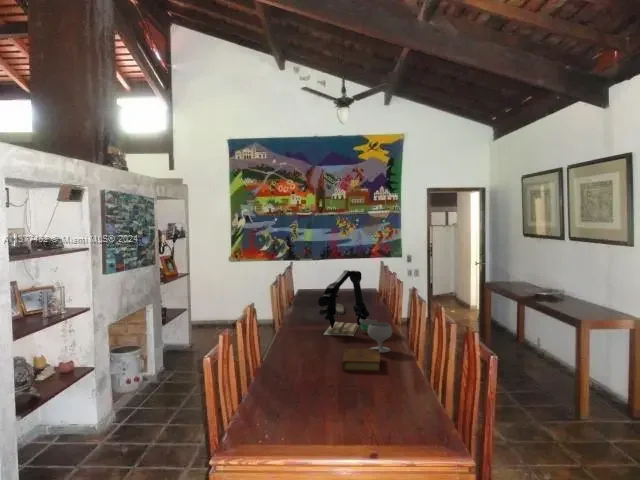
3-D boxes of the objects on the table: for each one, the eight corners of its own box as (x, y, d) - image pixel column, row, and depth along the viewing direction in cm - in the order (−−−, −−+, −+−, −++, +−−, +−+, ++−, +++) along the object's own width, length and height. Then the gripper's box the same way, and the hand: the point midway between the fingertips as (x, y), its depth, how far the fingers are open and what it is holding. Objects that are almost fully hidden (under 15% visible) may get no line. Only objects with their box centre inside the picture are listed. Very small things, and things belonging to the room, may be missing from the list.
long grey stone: (333, 316, 377) (345, 317, 378) (333, 310, 377) (346, 310, 377) (331, 306, 412) (342, 306, 412) (331, 300, 412) (343, 300, 412)
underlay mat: (358, 325, 336) (358, 325, 336) (353, 336, 307) (353, 335, 307) (331, 325, 340) (331, 324, 340) (323, 335, 311) (323, 334, 311)
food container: (356, 334, 311) (356, 319, 311) (360, 332, 317) (359, 317, 316) (374, 336, 305) (373, 320, 305) (377, 334, 311) (377, 319, 310)
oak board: (357, 326, 333) (357, 323, 333) (352, 334, 310) (352, 331, 310) (346, 325, 335) (346, 323, 335) (341, 333, 311) (341, 330, 311)
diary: (344, 358, 259) (344, 348, 259) (379, 359, 257) (379, 348, 257) (342, 371, 236) (342, 360, 236) (380, 372, 234) (380, 361, 234)
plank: (344, 325, 335) (344, 322, 335) (339, 333, 312) (339, 330, 311) (333, 324, 337) (333, 321, 336) (327, 332, 313) (327, 329, 313)
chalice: (393, 347, 277) (393, 322, 277) (390, 354, 264) (390, 327, 263) (369, 346, 281) (369, 321, 281) (365, 352, 268) (365, 326, 267)
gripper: (322, 301, 329) (322, 324, 329) (317, 306, 310) (317, 330, 311) (338, 302, 326) (338, 324, 327) (334, 307, 308) (334, 331, 309)
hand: (332, 327), depth 318 cm, fingers closed, pressing on plank
